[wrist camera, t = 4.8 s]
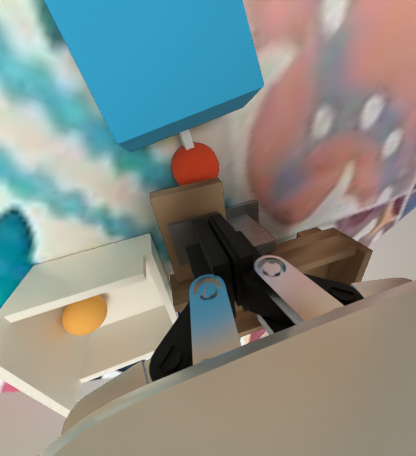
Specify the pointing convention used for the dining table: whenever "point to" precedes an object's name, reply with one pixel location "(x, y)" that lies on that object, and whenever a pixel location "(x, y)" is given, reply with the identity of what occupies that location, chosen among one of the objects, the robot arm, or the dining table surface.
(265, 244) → the stand
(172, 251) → the brown shallow tray
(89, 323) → the ball
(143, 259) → the box
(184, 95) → the lever
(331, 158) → the dining table surface
